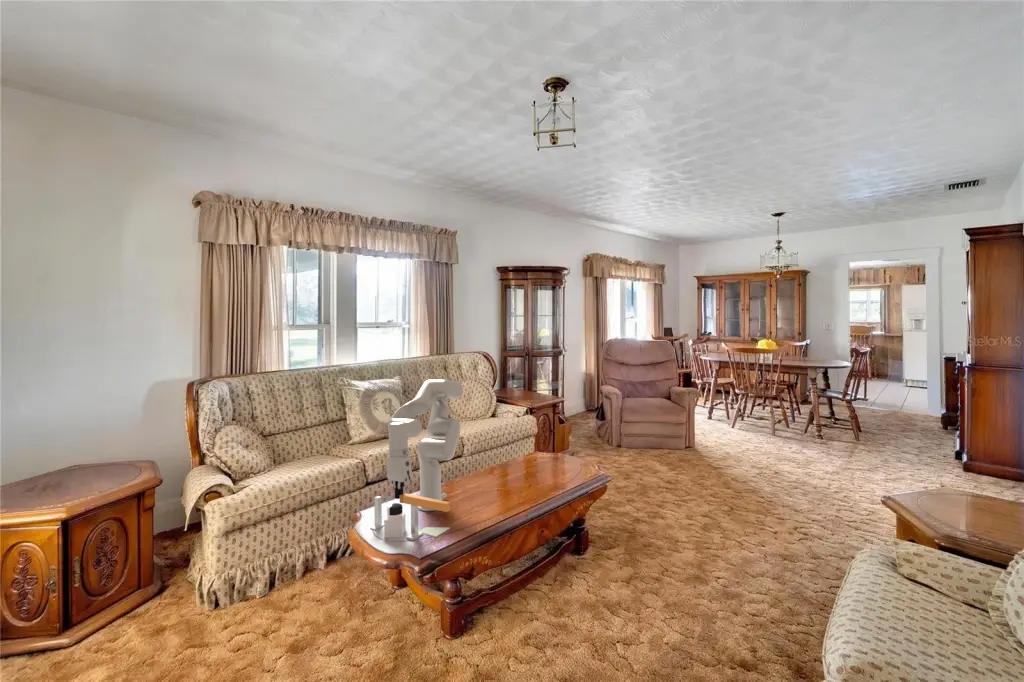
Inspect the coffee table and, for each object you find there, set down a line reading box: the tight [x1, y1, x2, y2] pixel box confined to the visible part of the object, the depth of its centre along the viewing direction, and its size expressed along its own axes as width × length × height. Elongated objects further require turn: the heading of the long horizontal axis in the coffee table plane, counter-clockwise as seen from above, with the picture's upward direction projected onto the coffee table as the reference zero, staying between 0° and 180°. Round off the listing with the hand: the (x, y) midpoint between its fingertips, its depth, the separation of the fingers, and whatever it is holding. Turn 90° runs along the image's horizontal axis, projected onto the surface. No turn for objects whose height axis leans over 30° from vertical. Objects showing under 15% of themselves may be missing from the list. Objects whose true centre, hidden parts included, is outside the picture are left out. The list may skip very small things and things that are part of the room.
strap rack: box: [369, 495, 424, 542], centre depth 190 cm, size 6×23×13 cm, turn 61°
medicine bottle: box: [383, 502, 407, 539], centre depth 188 cm, size 7×7×12 cm
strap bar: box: [399, 492, 452, 513], centre depth 182 cm, size 3×23×3 cm, turn 61°
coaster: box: [418, 526, 450, 538], centre depth 191 cm, size 10×10×1 cm
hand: (399, 497), depth 189 cm, fingers closed
